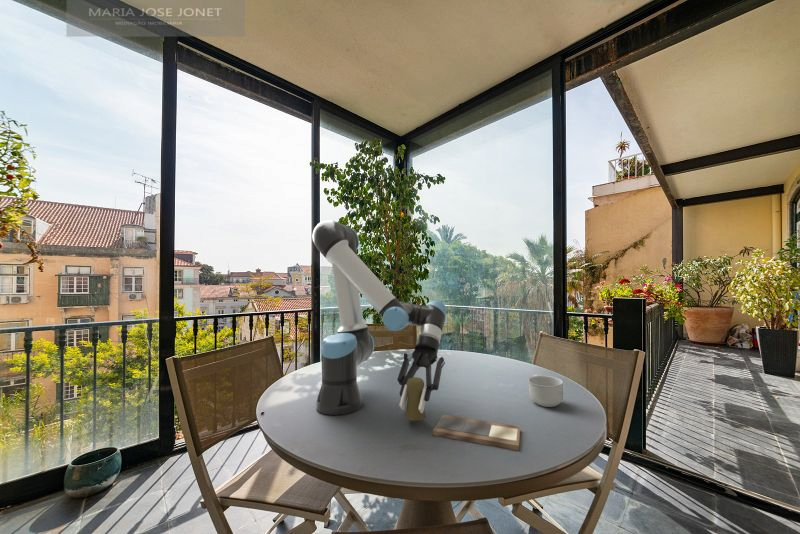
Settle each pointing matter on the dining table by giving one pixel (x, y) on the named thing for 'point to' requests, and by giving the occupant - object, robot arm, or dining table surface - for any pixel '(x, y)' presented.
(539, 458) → the dining table surface
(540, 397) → the teacup
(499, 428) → the brown frame
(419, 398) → the cork
